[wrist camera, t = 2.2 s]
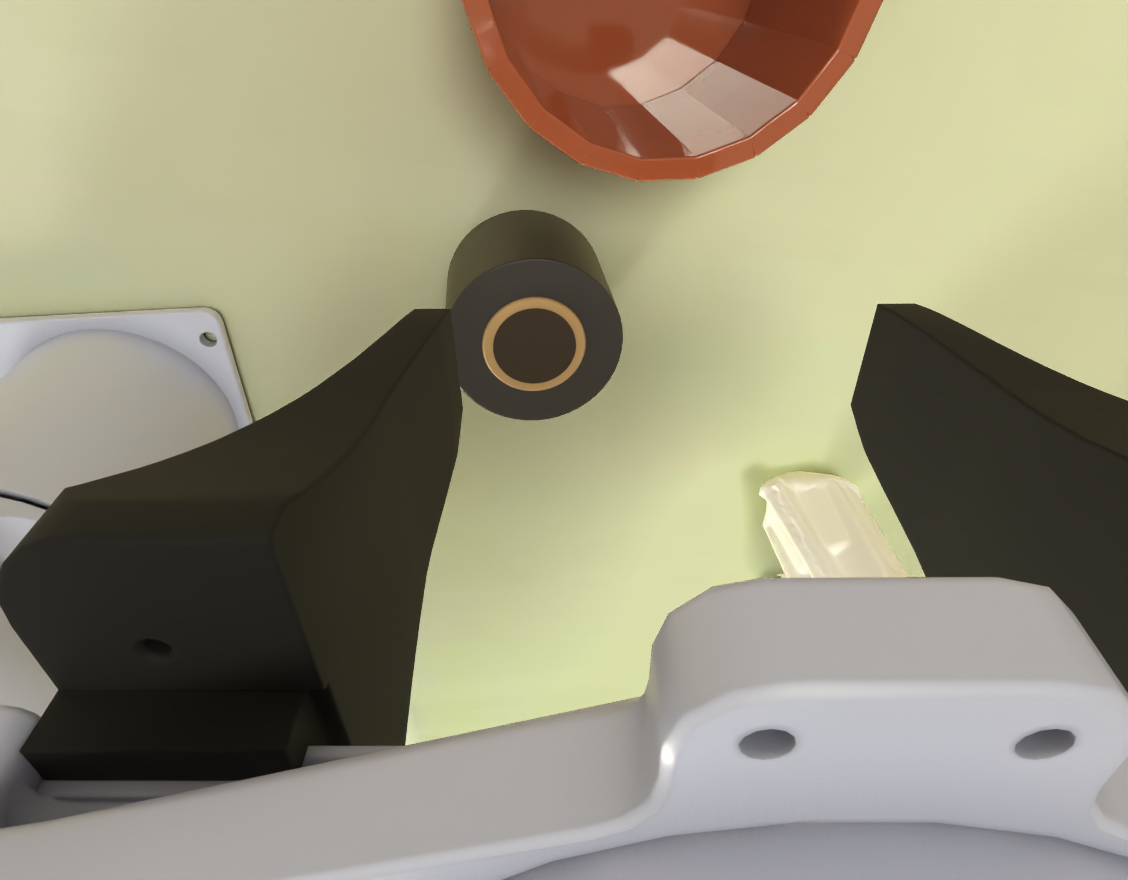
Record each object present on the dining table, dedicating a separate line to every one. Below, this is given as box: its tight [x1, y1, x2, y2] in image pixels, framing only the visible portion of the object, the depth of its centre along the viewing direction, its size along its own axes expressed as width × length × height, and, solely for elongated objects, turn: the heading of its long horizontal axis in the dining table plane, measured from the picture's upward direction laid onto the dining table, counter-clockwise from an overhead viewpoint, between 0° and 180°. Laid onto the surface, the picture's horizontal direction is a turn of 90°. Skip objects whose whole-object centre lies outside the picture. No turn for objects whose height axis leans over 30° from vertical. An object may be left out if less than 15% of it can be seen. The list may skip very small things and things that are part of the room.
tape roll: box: [446, 210, 623, 420], centre depth 23 cm, size 5×5×4 cm
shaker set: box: [760, 471, 908, 578], centre depth 29 cm, size 12×4×11 cm, turn 14°
